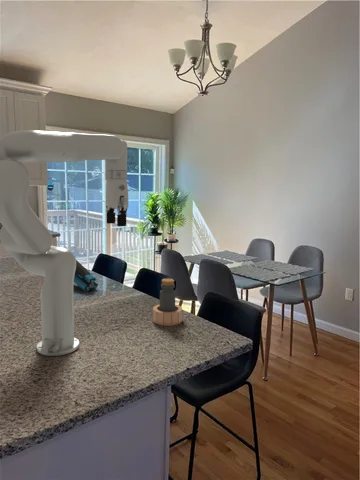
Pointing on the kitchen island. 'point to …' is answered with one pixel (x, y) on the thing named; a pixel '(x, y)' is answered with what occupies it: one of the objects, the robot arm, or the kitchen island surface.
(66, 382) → the kitchen island surface
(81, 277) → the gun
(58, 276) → the robot arm
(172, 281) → the bottle
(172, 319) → the segmented wooden bowl
